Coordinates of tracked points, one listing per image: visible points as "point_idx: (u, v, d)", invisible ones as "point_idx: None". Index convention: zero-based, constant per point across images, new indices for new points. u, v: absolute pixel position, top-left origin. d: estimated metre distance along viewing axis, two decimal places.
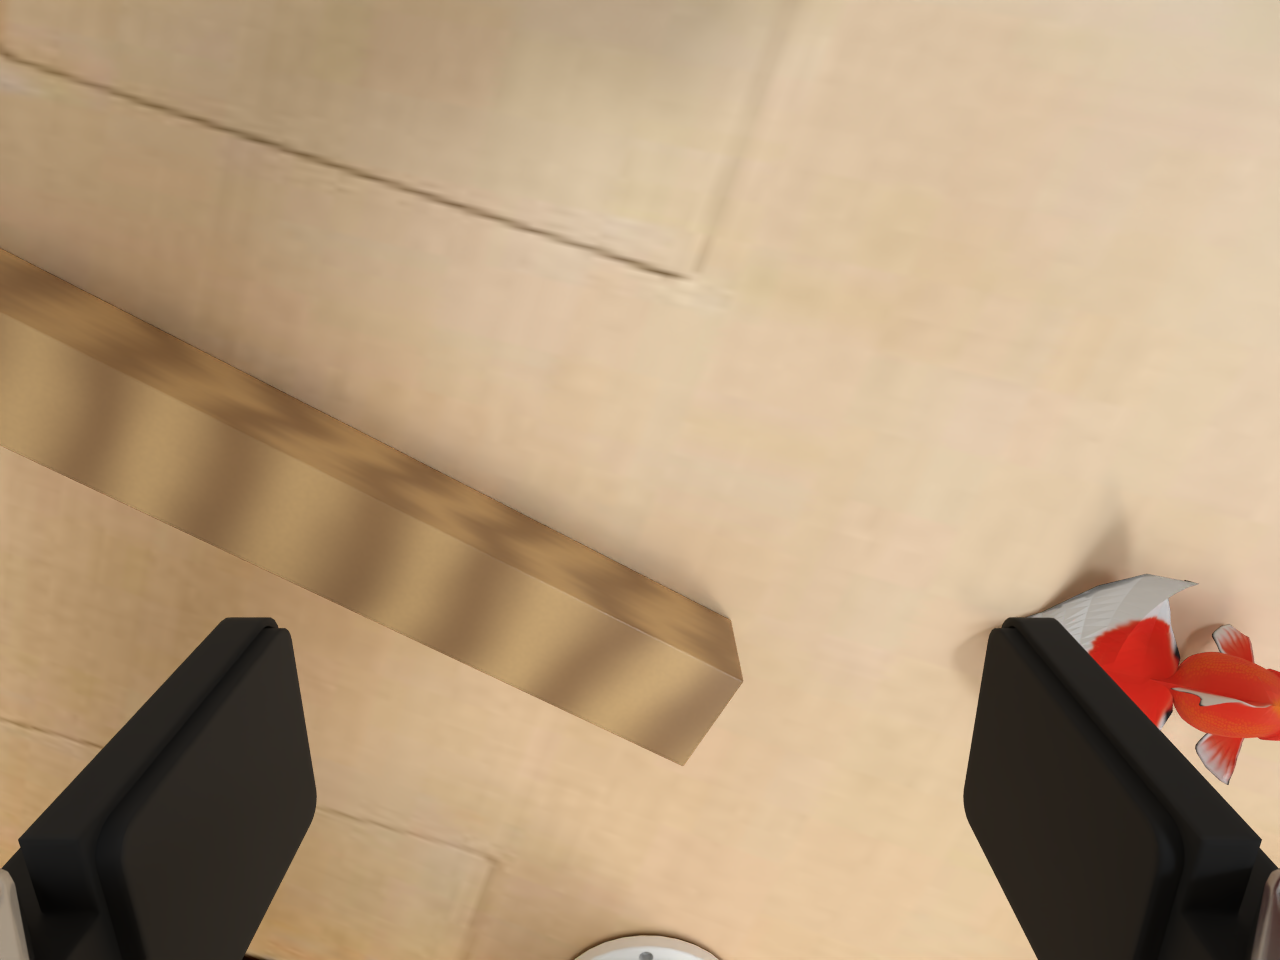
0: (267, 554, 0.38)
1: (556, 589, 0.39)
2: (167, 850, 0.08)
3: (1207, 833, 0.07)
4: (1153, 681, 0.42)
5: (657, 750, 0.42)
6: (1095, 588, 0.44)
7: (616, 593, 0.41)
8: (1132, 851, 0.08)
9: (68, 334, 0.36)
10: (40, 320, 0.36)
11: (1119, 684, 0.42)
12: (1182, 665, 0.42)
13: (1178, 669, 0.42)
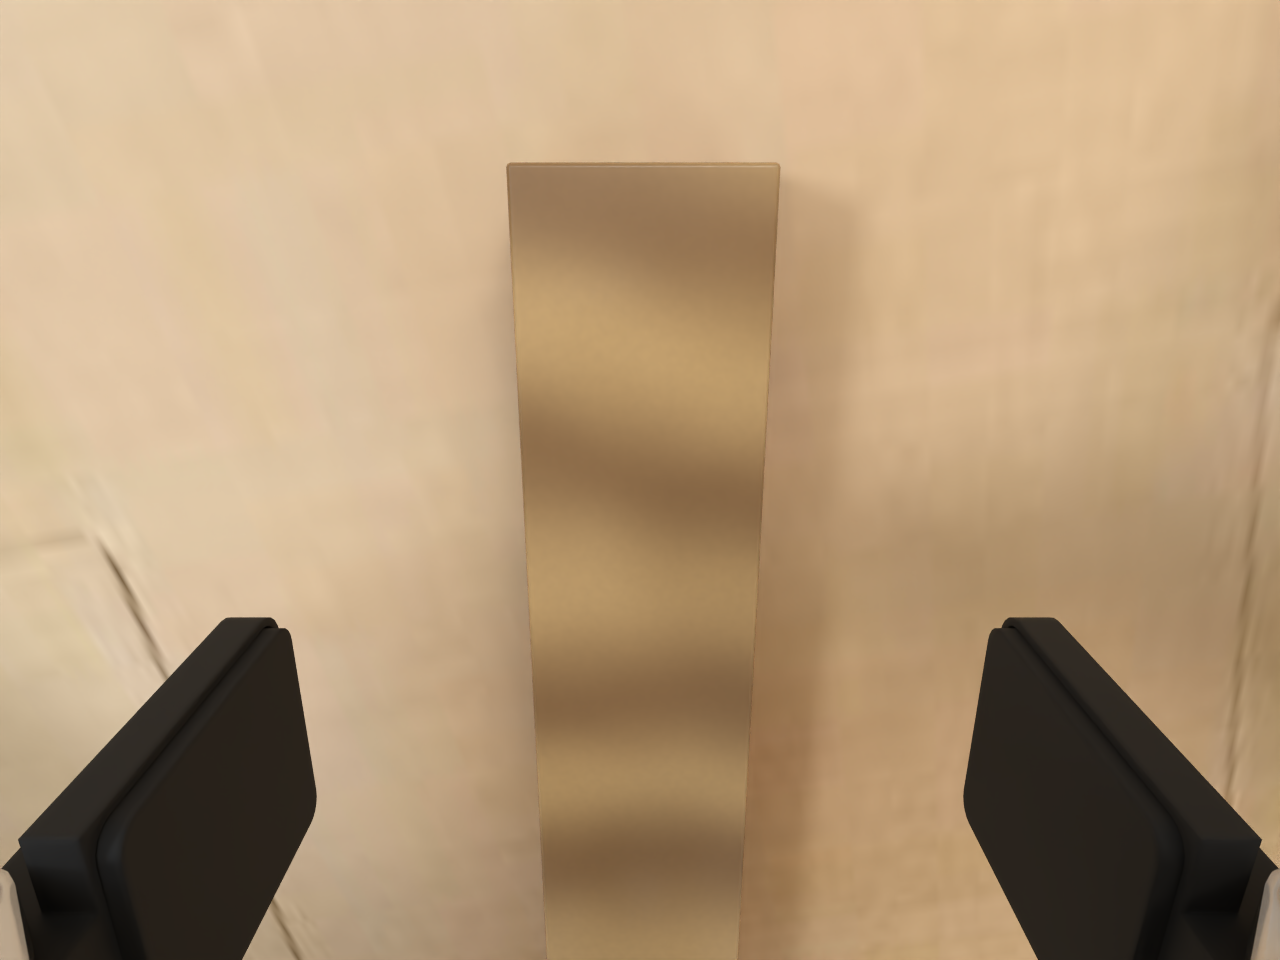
0: (710, 958, 0.25)
1: (529, 594, 0.21)
2: (167, 849, 0.08)
3: (1207, 833, 0.07)
4: None
5: (767, 243, 0.18)
6: None
7: None
8: (1132, 851, 0.08)
9: None
10: None
11: None
12: None
13: None
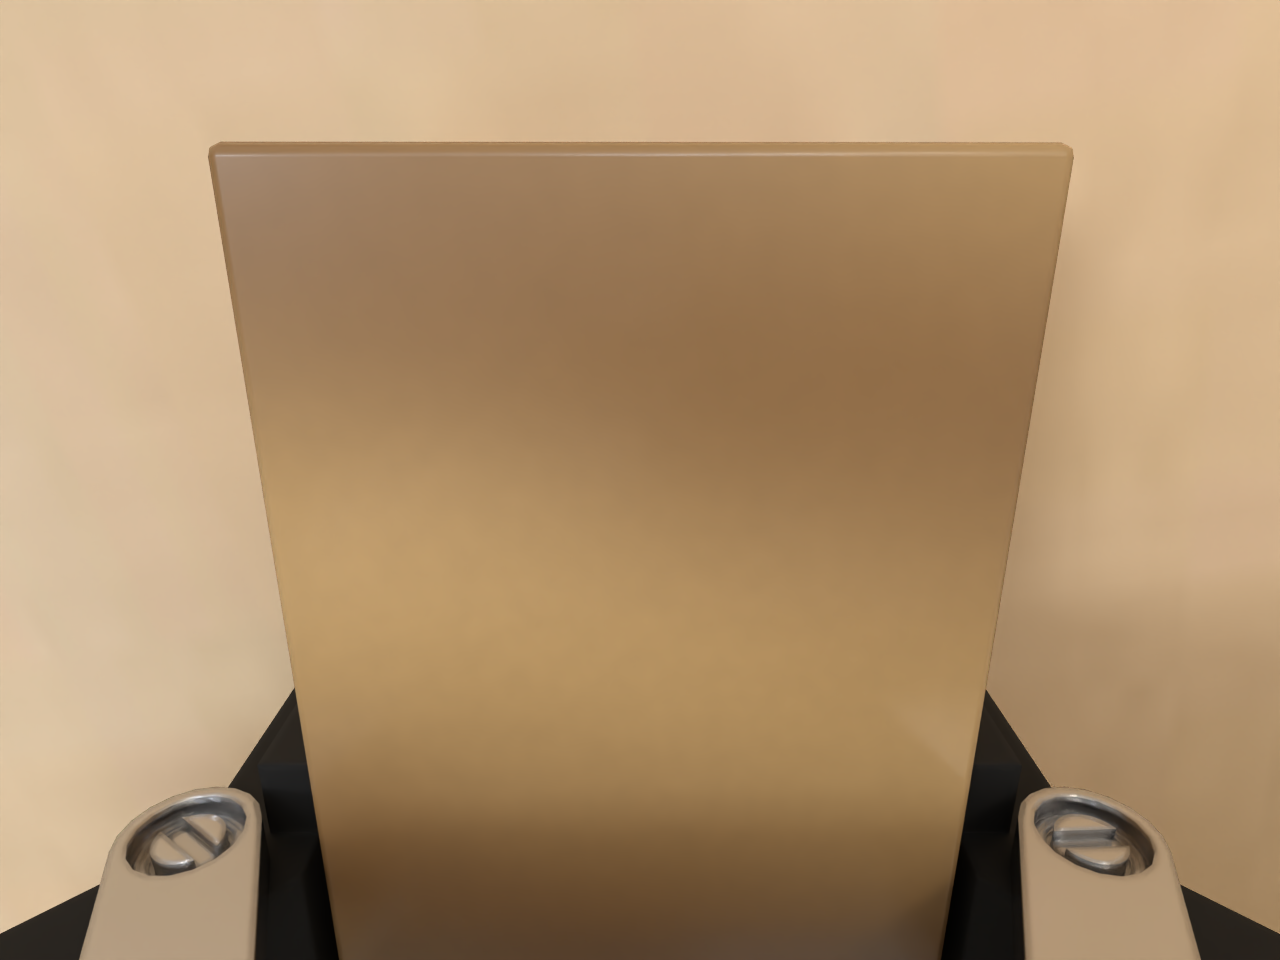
0: None
1: None
2: None
3: (975, 760, 0.08)
4: None
5: (1011, 386, 0.06)
6: None
7: None
8: None
9: None
10: None
11: None
12: None
13: None
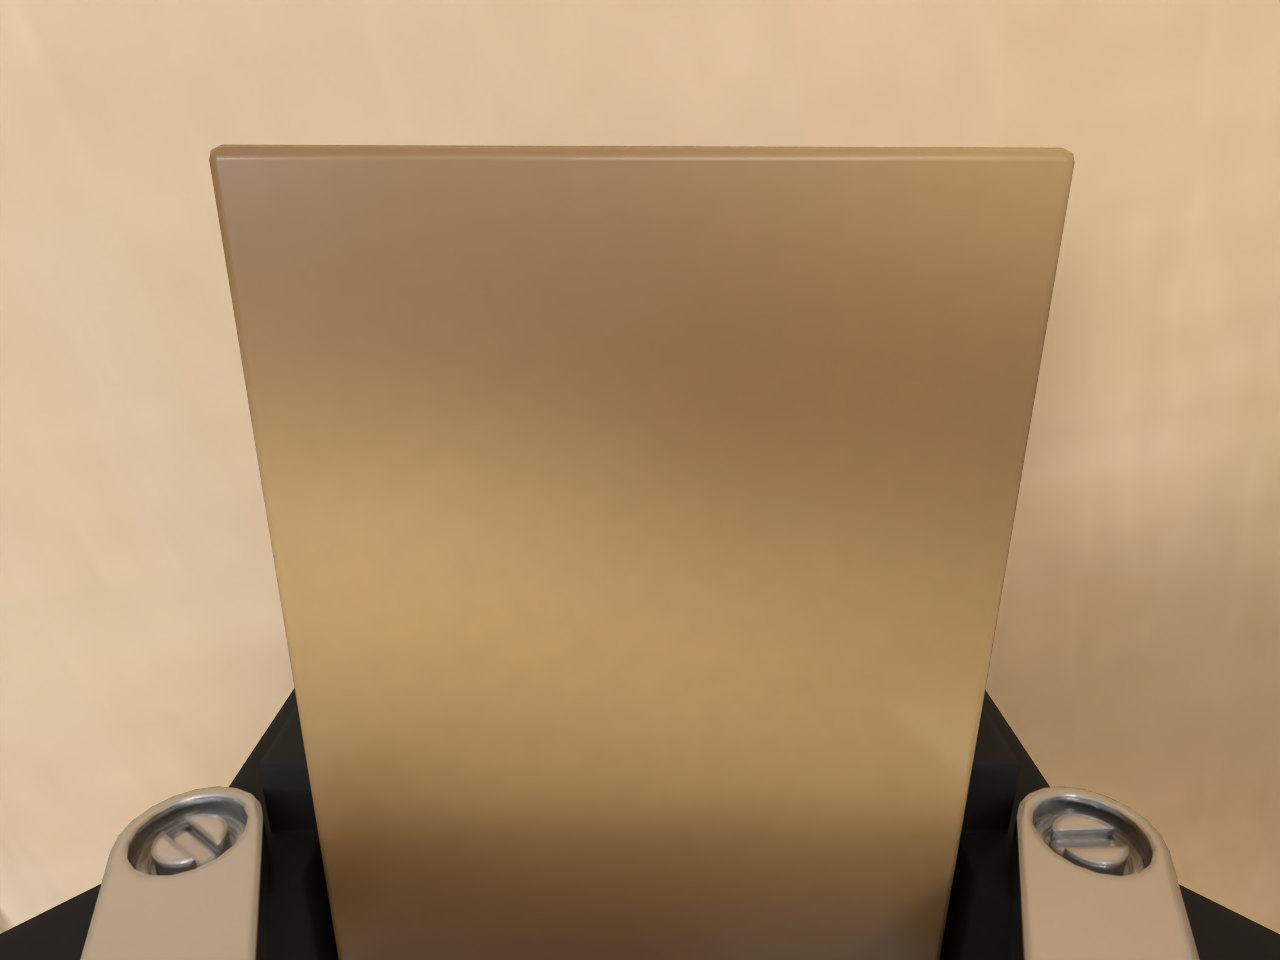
0: None
1: None
2: None
3: (975, 759, 0.08)
4: None
5: (1011, 391, 0.06)
6: None
7: None
8: None
9: None
10: None
11: None
12: None
13: None
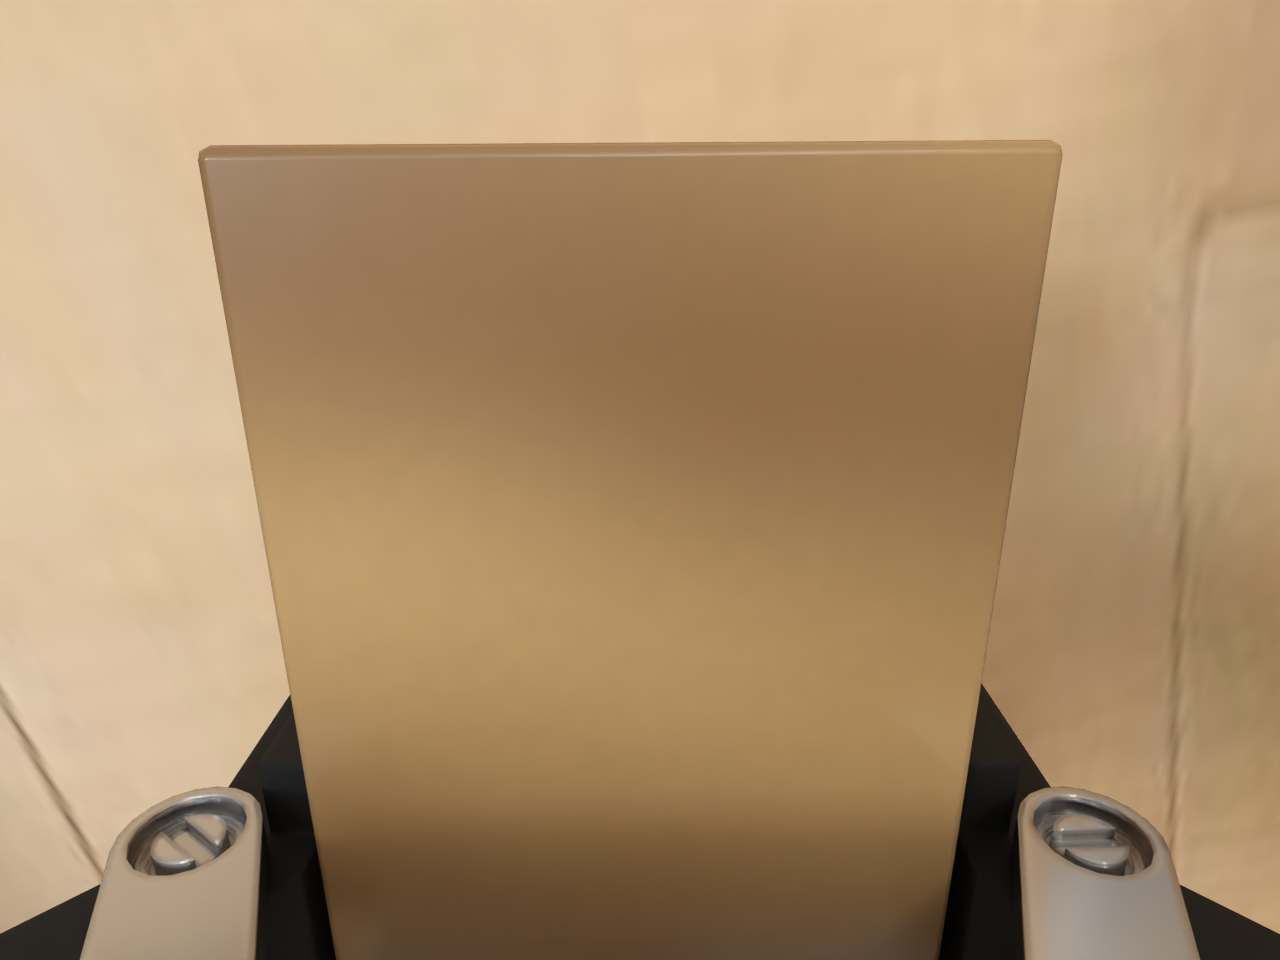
0: None
1: None
2: None
3: (975, 760, 0.08)
4: None
5: (1004, 385, 0.06)
6: None
7: None
8: None
9: None
10: None
11: None
12: None
13: None
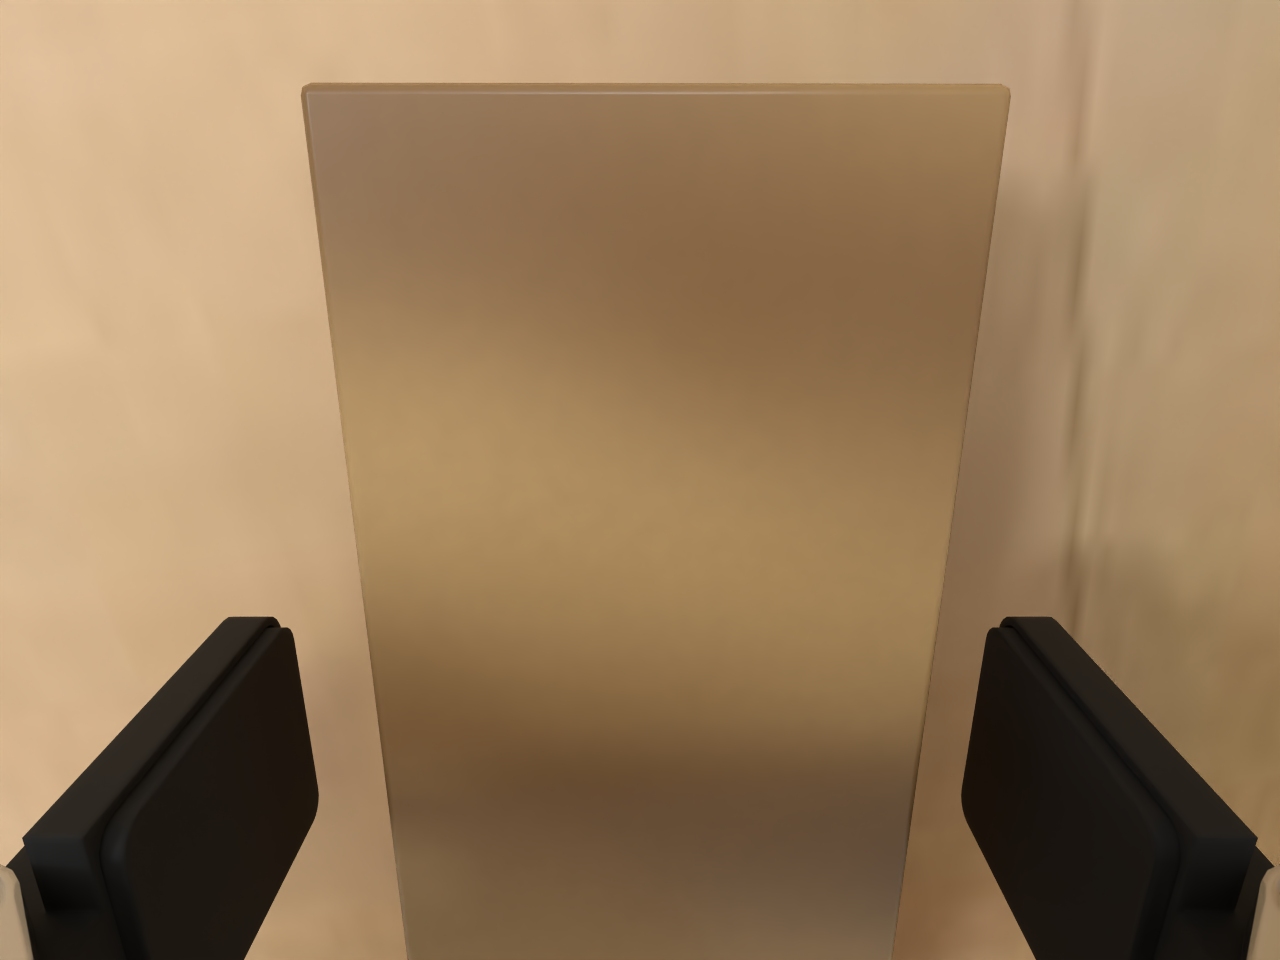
0: None
1: None
2: (171, 848, 0.08)
3: (1203, 832, 0.07)
4: None
5: (964, 291, 0.07)
6: None
7: None
8: (1128, 850, 0.08)
9: None
10: None
11: None
12: None
13: None
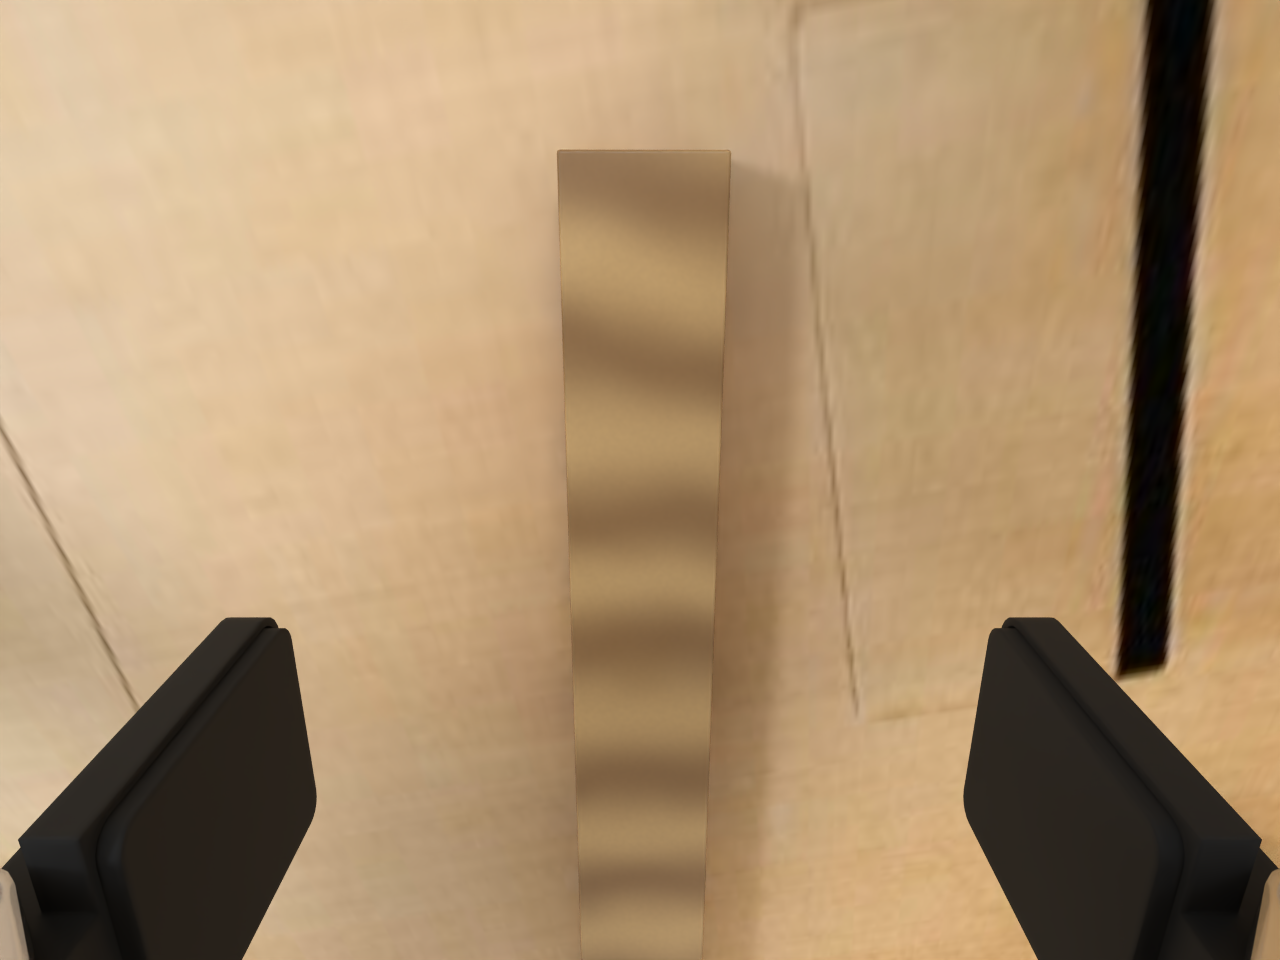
0: (691, 721, 0.35)
1: (566, 442, 0.31)
2: (168, 850, 0.08)
3: (1207, 833, 0.07)
4: None
5: (723, 202, 0.28)
6: None
7: None
8: (1132, 851, 0.08)
9: None
10: None
11: None
12: None
13: None
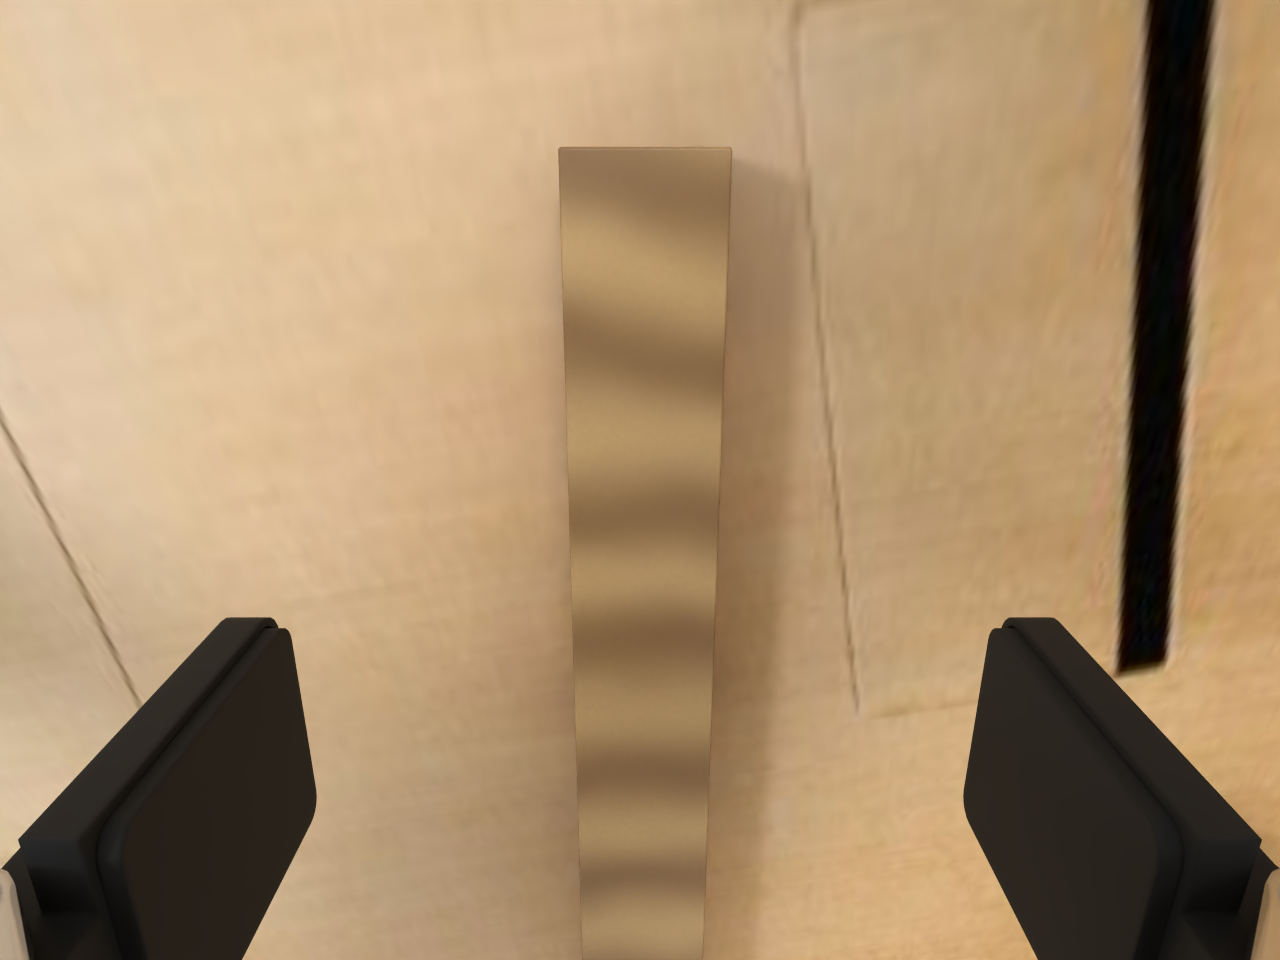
0: (692, 717, 0.35)
1: (568, 439, 0.31)
2: (167, 850, 0.08)
3: (1207, 833, 0.07)
4: None
5: (724, 199, 0.28)
6: None
7: None
8: (1132, 851, 0.08)
9: None
10: None
11: None
12: None
13: None
